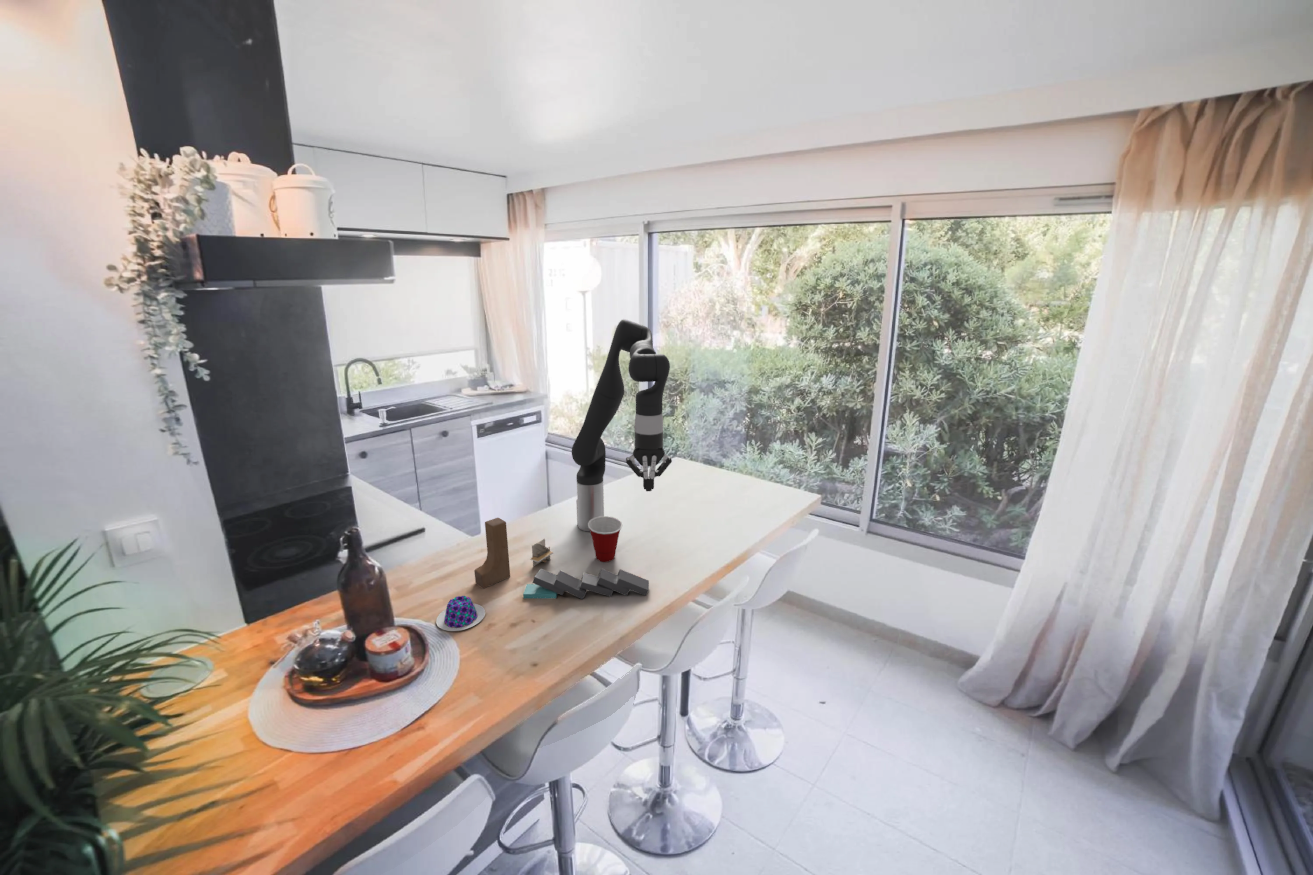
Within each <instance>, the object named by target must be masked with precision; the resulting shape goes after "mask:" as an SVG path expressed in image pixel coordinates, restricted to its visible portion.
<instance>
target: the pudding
mask: <svg viewBox="0 0 1313 875" xmlns="http://www.w3.org/2000/svg"><path fill="white" fill-rule="evenodd" d="M485 616H486V610H485V608H484V607H483V606H482V605H480V604H478V603H474V602H473V601H472V598H471V597H469V596H466V595H461V596H455V597H454V598H451V599H450V600H449V601H448V602H447V605H446V607H445V609H444V610H443V611H441V612H440V613H438V616H436V619H435V622H436V625H437V627H438V628H440V629H441V630H444V631H448V632H459V631H464V630H467V629H470V628H472V627H474V626H475V625H478V624H479V623H480V622H481V621H483V620H484V618H485Z"/></svg>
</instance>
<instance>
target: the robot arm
mask: <svg viewBox="0 0 1313 875" xmlns="http://www.w3.org/2000/svg"><path fill="white" fill-rule="evenodd" d="M653 344H654V342H653V333H652V331H651V329H650V328H649V327H648V326H645V325H644V324H640V323H639V322H638V323H637V322H634V321H631V320H628V319H625V318H623V319H621V320H619V322H618V324H617V326H616V328H615V331H614V334H613V336H612V340H611V344H610V348H609V350H608V354H607V358H606V360H605V363H604V367H603V369H602V371H601V374H600V377H599V379H598V381H597V384H596V387H595V389H594V392H593V395H592V397H591V400H590V404H589V406H588V410H587V412H586V415H585V418H584V421H583V423H582V426H581V428H580V431H579V432H578V434H577V436H576V438H575V440H574V442H573V445H572V448H571V458H572V460H573V461H574V463H575V464H577V465H578V466H580V468H579V469H578V471H577V473H576V496H577V497H576V498H577V499H576V521H577V522H576V524H577V527H578V528H579V530H580V531H584V532H590V529H589V528H588V522H589V521H590V520H591V519H593V518H596V517H601V516H605V502H604V501H605V500H604V498H605V496H604V494H605V493H604V477H605V476H604V475H605V472H606V452H607V451H606V445H605V443H604V442H605V441H604V440H603V439H602V435H603V433H604V432H605V430H606V428H607V427H608V425H609V424H610V423H611V421H612V420H613V418H614V417H615V416H616V414H617V412H618V410H619V407H620V406H621V403H622V401H623V398H624V395H625V385H624V380H623V375H622V372H621V366H620V353H621V351H625V352H627V353H629V363H628V374H629V377H630V378H631V379H632V380H633V381H635V382H637V383H638V382H639V383H647V382H649V383H650V382H653V385H652V386H651V387H650V388H646V389H641V390H639V391H638V392H636V393H635V416H634V417H635V418H634V425H633V426H634V427H633V428H634V449H633V451H632V455H630V456H629V457H628V456H627V457H626V458H625V463H626V464H627V466H629V468H630V469H631V471H633V472H634V474H635V475H636V476H637V477H638V478H642V479H643V480H642V486H643V489H644V490H645V492H652V491H653V490H654V489H655V478H657V477H661V475H662V474H664V472H665V471H666V470H667V468H668V467H669V466H670V465H671V463H672V462H673V460H672V457H671V456H670V455H667V454H665V450H664V418H663V398H664V392H665V387H666V385H667V384H666V383H667V380H668V378H669V373H670V370H671V364H670V360H669V358H668V357H667V356H666V355H665V354H662V353H657V352H656V350H655V349H654V346H653ZM636 461H637V462H638V464H639V465H641V467H642V470H641V469H640V468H639V466H638V465H636ZM660 462H661V464H660V465H659V463H660ZM658 465H659V466H658ZM656 466H658V467H657V468H656ZM648 467H649V468H648Z"/></svg>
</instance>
